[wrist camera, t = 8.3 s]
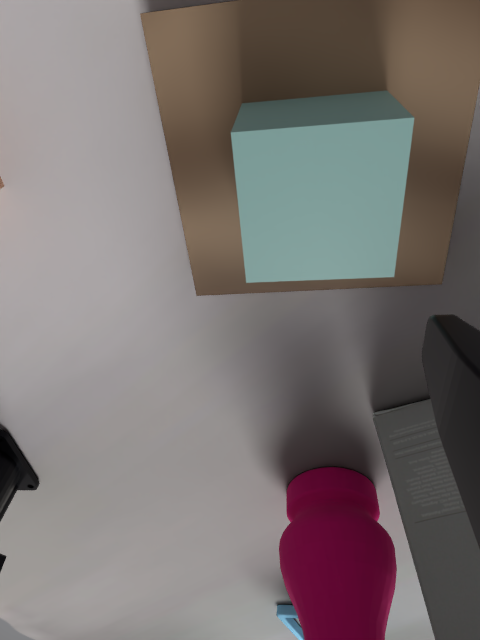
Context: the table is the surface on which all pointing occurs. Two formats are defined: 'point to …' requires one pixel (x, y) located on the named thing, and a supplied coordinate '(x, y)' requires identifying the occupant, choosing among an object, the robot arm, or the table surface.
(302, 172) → the teal brick
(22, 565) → the table surface
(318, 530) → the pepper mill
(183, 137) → the walnut board
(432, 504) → the skincare box
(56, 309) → the table surface
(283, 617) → the chair
